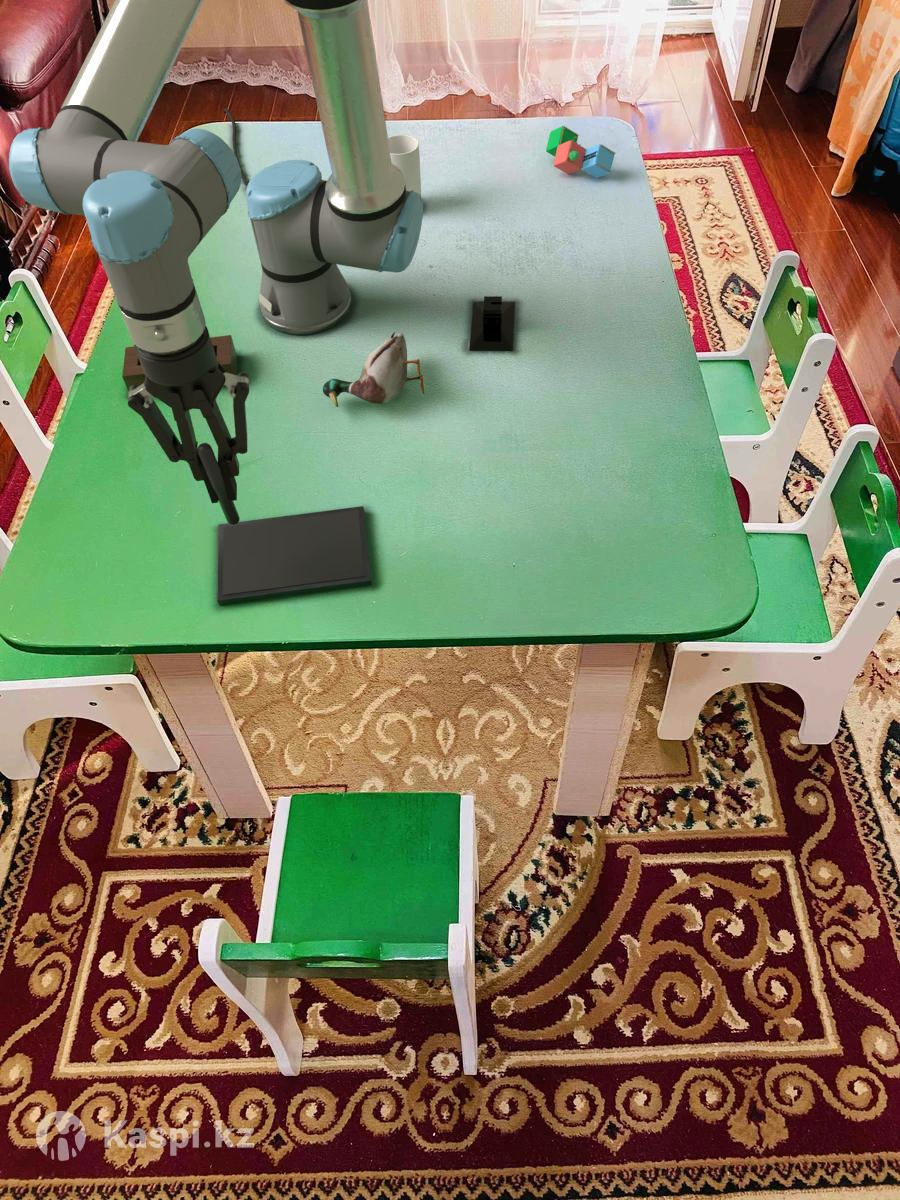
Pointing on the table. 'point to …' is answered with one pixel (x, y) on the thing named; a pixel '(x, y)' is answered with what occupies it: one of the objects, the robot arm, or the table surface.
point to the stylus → (218, 482)
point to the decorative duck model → (378, 374)
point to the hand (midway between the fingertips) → (224, 493)
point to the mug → (406, 159)
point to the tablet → (292, 555)
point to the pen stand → (222, 350)
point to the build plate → (492, 325)
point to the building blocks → (578, 154)
